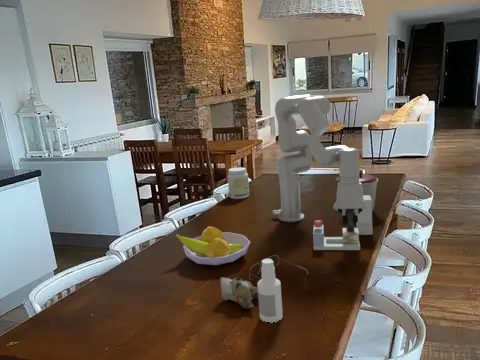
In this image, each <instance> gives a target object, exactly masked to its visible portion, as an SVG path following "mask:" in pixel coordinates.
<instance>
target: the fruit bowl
mask: <svg viewBox="0 0 480 360" xmlns="http://www.w3.org/2000/svg"><path fill="white" fill-rule="evenodd" d="M175 237H176V238H178V239H179V241H180V242H181V243H182V244H183V245H182V248H183V250H184V253H185V255H186V258H188V259H190V260H191V261H193V262H195V264H199V265H209V266H220V265H223V264H227V263H233V262H234V261H236V260H238V259H239V258H241V257H242V256H245V254H247V252H248V249H249V247H250V243H251V241H250V240H249V239H248V238H247V236H245V235H243V234H241V233H234V232H227V231H226V232H225V231H224V232H222V230H221V229H218V228H217V227H214V226H210V225H208V226H207V227H206V228H205V229H204V230H203V231H202V234H201V235H199V236H196V237H193V238H191V237H188V236H187V237H186V236H182V235H180V234H179V233H177V234H175Z"/></svg>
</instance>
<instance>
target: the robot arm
mask: <svg viewBox="0 0 480 360" xmlns="http://www.w3.org/2000/svg"><path fill="white" fill-rule="evenodd" d="M330 111H331V103H330V100H329V99H328V98H327V97H326V96H324V95H315V94H300V95H292V96H291V95H290V96H285V97H284V96H283V97H281V98H280V99H278V100H277V101H276V103H275V107H274V113H275V118H276V121H277V131H278V134H277V135H278V146H279V148H278V149H279V151H281V152H282V153H286V155H283V156H280V157H279V158H278V159H277V161H276V170H277V173H278V179H279V190H280V191H279V194H280V209H274V210H272V215H274V216H278V220H279V221H281V222H285V223H295V222H300V221H303V220H304V219H305V215H304V213H302V206H301V188H300V187H301V186H300V180H299V179H298V177H296V174H302V173H305V172H308V171H310V170H311V168H312V165H313V158H314V160H315V162H316V163H317V164H318V165H319V166H321V167H324V168H325V167H331V166H337V165H339V166H338V167H339V169H338V171H339V176H336V177H335V181H337V182H338V183H337V188H336V201H335V203H334V204H333V207H332V209H333V210H335V211H337V212H339V213H340V215H342V223H344V226H346V225H347V217H346V209H355V212H354V226H356V222H358V215H359V213H360V212H361V211H363V210H365V209H367V206H366V204H365V202H364V201H363V189H362V184H361V182H359V170H360V151H359V149H357V148H355V147H350V146H348V145H345V144H338V145H331V146H326V147H325V146H323V144H322V143H321V141H320V136H322V135H323V134H324V133H326V131H328V130H329V127H330V122H329V120H328V119H327V116H326V115H328V114H329V113H330ZM295 115H296V116H297V115H300V117H301V119H302V120H303V122H304V124H305V125H306V126H307V129H308V131H309V132H310V134H309V132H308V131H306V130H297V122H296V120H295V117H293V116H295ZM295 152H297V153H295ZM287 153H290V154H287Z"/></svg>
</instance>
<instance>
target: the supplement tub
mask: <svg viewBox="0 0 480 360" xmlns="http://www.w3.org/2000/svg"><path fill="white" fill-rule="evenodd" d="M227 173H228V174H227V184H228V195H229V197H230V198H231V199H233V200H241V199H245V198H247V197H249V196H250V187H249V184H250V183H249V174H248V172H247V168H246V167H231V168H229V169H228V172H227Z"/></svg>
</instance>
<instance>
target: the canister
mask: <svg viewBox="0 0 480 360" xmlns="http://www.w3.org/2000/svg"><path fill="white" fill-rule="evenodd" d="M359 182H361V184H362V189H363V196H365V195H370V197H371V200H372V211H373V210H374V207H375V204H376V203H375V201H376V195H377V194H376V193H377V186H378V182H379V178H378V177H376V176H375V175H373V174H369V173H368V174H367V173H363V171H362V170H361V169H359ZM354 212H355V209H354Z"/></svg>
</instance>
